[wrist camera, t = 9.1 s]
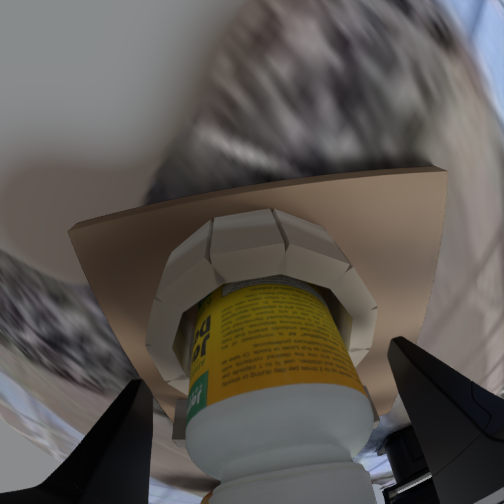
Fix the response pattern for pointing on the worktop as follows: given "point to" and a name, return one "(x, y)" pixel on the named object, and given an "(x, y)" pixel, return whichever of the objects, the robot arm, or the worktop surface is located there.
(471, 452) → the robot arm
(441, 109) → the worktop surface
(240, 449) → the supplement bottle
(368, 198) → the board
